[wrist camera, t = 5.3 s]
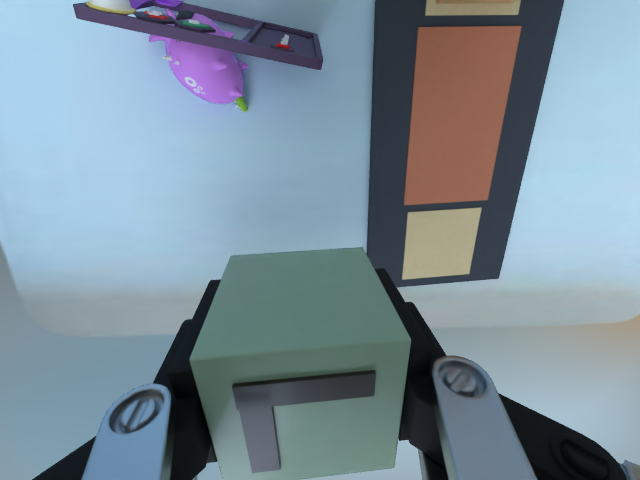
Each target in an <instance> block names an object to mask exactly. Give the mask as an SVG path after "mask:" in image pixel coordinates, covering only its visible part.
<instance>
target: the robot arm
mask: <svg viewBox="0 0 640 480" xmlns="http://www.w3.org/2000/svg"><path fill="white" fill-rule="evenodd" d="M374 270H375V272H376V273H377V275H378V277H379V279H380V281H381V283H382V285H383V287H384V289H385V291H386V293H387V294H388V296H389V298H390V300H391V302H392V304H393V306H394V308H395V310H396V312H397V314H398V315H399V317H400V319H401V321H402V323H403V325H404V327H405V329H406V331H407V333H408V335H409V336H410V338H411V345H410V353H409V360H408V368H407V376H406V383H405V391H404V399H403V406H402V414H401V421H400V429H399V437H398V438H399V441H401V440H409V442H410V444H412V445H413V446H415V447H416V448H418V453H419V460H420V466H421V474H422V480H640V466H639V465H636V464H634V463H632V462H629V461H627V460H625V461H624V463H623V464H620V463H618V462H617V461H616V460H615V459H614V458H613V457H612V456H611V455H610V454H609V453H608V452H607V451H606V450H605V449H604V448H602V447H601V446H600V445H599V444H597V443H596V442H595V441H593V440H591V439H589V438H588V437H586V436H584V435H582V434H580V433H578V432H576V431H574V430H572V429H570V428H568V427H566V426H564V425H562V424H560V423H558V422H556V421H554V420H552V419H550V418H548V417H546V416H544V415H541V414H539V413H537V412H536V411H533V410H531V409H529V408H527V407H525V406H523V405H521V404H519V403H517V402H515V401H513V400H511V399H509V398H507V397H505V396H503V395H501V394H499V393H498V392H497V390H496V388H495V386H494V383H493V381H492V379H491V378H490V376H489V375H488V373H487V372H486V371H485V370H484V369H483V368H482V367H480V366H479V365H478V364H476V363H474V362H473V361H471V360H468V359H466V358H463V357H459V356H446V354H445V352H444V351H443V349H442V348H441V346H440V345H439V343H438V341H437V340H436V338H435V337H434V335H433V333H432V332H431V330H430V329H429V327H428V325H427V324H426V322H425V321H424V319H423V318H422V316H421V314H420V313H419V311H418V310H417V308H416V307H415V305H414V304H413V303H412V302H405V301H404V299H403V298H402V296H401V294H400V293H399V291H398V289H397V288H396V286H395V284H394V283H393V281H392V279H391V278H390V276H389V274H388V272H387V271H386V269H385V268H379V269H374ZM220 281H221V280H211V281H210V282H209V284H208V286H207V288H206V290H205V293H204V295H203V297H202V299H201V301H200V303H199V306H198V308H197V310H196V312H195V314H194V316H193V319H188V320H185V321H184V322H183V324H182V325H181V327H180V329H179V331H178V333H177V335H176V337H175V339H174V341H173V344H172V346H171V348H170V350H169V352H168V354H167V356H166V358H165V360H164V362H163V364H162V366H161V368H160V370H159V372H158V374H157V376H156V378H155V380H154V382H153V384H146V385H142V386H139V387H137V388H134V389H132V390H130V391H129V392H127V393H125V394H123V395H122V396H121V397H120V398H118V399H117V400H116V401H115V402H114V403H113V404H112V405H111V406H110V407H109V409H108V410H107V411H106V414H105V415H104V417H103V419H102V421H101V424H100V427H99V430H98V433H97V436H95V437H94V438H93V439H91V440H90V441H88V442H87V443H85V444H84V445H82V446H81V447H79V448H78V449H77V450H75V451H73V452H72V453H70V454H69V455H68V456H66V457H65V458H63V459H62V460H60V461H59V462H57V463H56V464H54V465H53V466H51V467H50V468H48V469H47V470H46V471H44V472H43V473H41V474H40V475H38V476H37V477H35V478H34V479H32V480H197V475H198V474H199V473H200V472H201V471H202V470H203V469H204V468H205V467H206V463H210V462H217V457H216V454H215V450H214V447H213V443H212V439H211V436H210V432H209V429H208V425H207V421H206V418H205V414H204V411H203V407H202V403H201V400H200V396H199V393H198V389H197V385H196V382H195V378H194V375H193V371H192V367H191V364H190V360H189V359H190V356H191V354H192V351H193V349H194V346H195V344H196V341H197V339H198V336H199V334H200V331H201V329H202V326H203V324H204V321H205V319H206V316H207V314H208V311H209V309H210V306H211V304H212V301H213V299H214V296H215V294H216V291H217V289H218V286H219V284H220Z"/></svg>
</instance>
